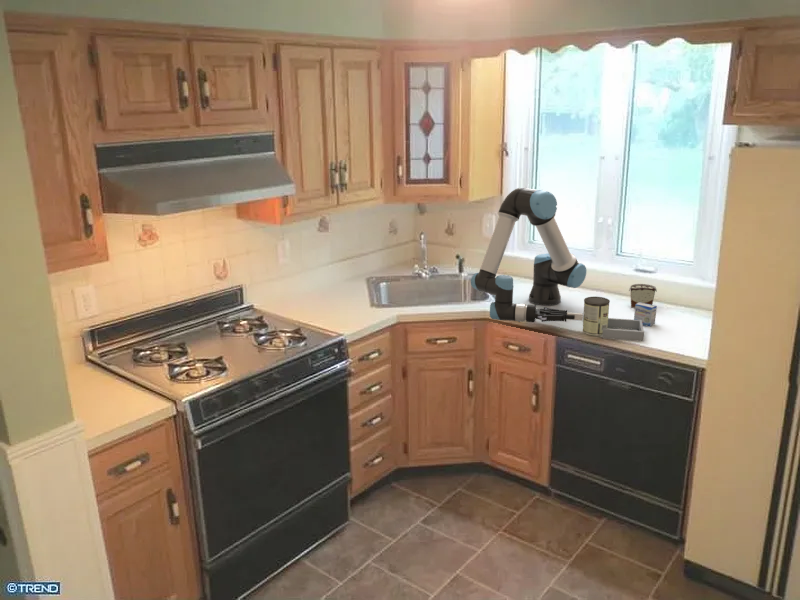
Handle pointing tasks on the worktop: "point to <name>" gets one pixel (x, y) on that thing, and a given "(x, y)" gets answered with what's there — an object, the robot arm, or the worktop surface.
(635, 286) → the food container
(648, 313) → the medicine box
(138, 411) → the worktop surface
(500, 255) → the robot arm
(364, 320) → the worktop surface
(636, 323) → the frame
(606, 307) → the coffee can
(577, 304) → the worktop surface
